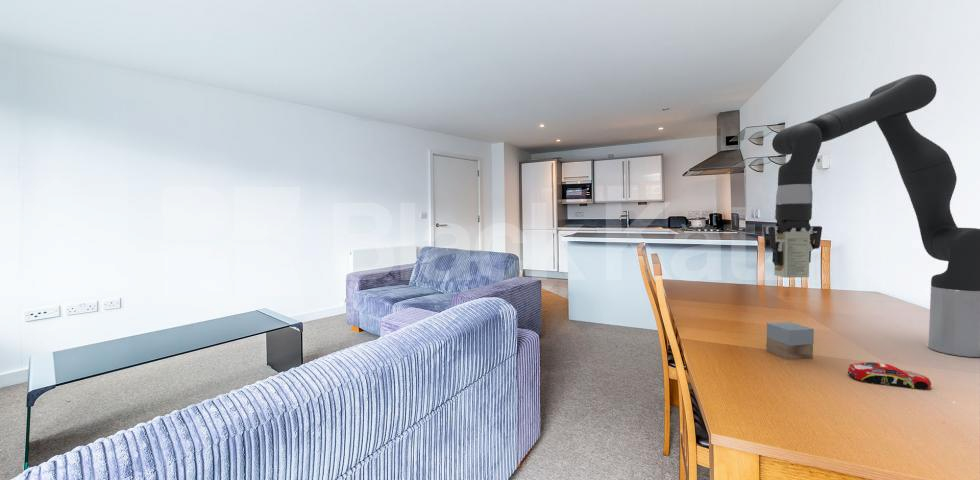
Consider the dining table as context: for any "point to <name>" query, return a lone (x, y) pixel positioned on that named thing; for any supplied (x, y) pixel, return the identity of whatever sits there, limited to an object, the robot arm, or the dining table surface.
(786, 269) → the skincare box
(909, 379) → the race car
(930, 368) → the dining table surface
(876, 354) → the dining table surface
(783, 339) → the top block
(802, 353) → the bottom block
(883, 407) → the dining table surface
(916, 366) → the dining table surface
